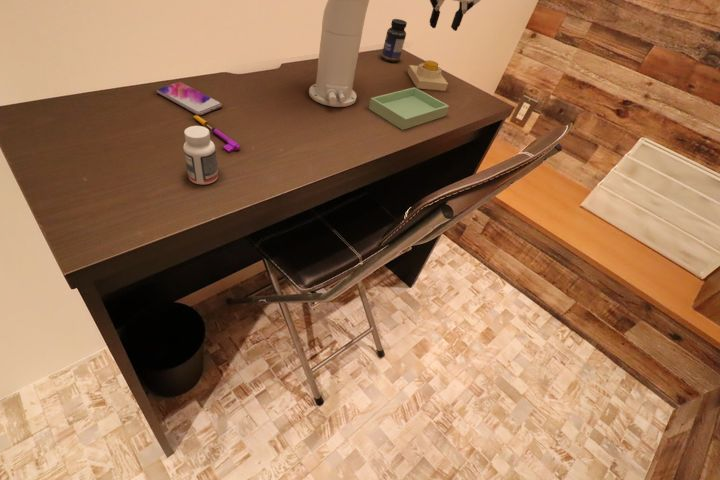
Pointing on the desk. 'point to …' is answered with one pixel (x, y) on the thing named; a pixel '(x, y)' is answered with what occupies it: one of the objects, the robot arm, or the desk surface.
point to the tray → (408, 107)
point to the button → (430, 65)
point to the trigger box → (427, 78)
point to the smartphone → (189, 98)
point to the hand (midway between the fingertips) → (443, 27)
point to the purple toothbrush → (231, 143)
